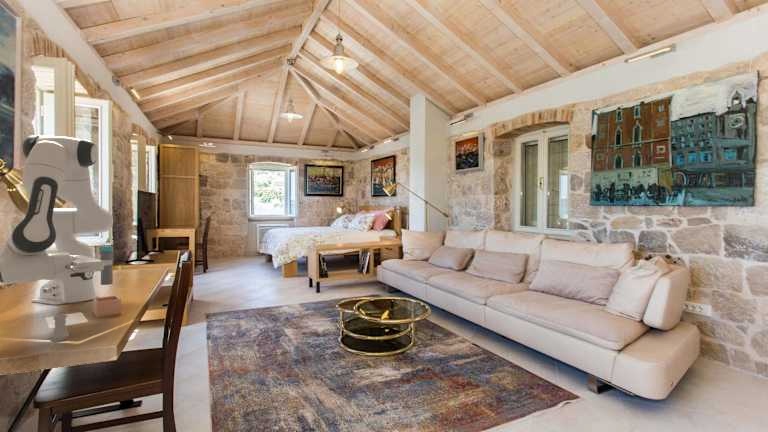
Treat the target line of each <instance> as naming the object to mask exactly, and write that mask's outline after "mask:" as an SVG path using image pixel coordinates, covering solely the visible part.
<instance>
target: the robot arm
mask: <svg viewBox="0 0 768 432" xmlns="http://www.w3.org/2000/svg"><path fill="white" fill-rule="evenodd" d="M22 153H23V156H24V157H25V158H26V160H25V163H24V166H23V170H22V175H21V176H22V180H21V181H22V183H21V184H22V187H23V188H24V189H25V190H26V191H27V192H28V193H29V199H28V203H27V207H26V211H25V216H24V218H23V220H21V222H19V223H18V224H17V225H16V227H15V228H14V229H13V231H12V232H11V234H9V236H8V237H7V239H6V241H5V244H4V247H3V249H2V250H1V252H0V283H3V284H24V283H26V284H27V283H34V282H35V283H36V282H38V281H43V280H45V281H47V282H45V283H44V284H43V285H42V286H41V287H40V289H39V296H37V297H35V298H32V299H31V303H39V304H46V305H55V306H57V305H65V304H73V303H77V302H78V303H79V302H85V301H90V300H93V299H94V298H99V297H98V294H97V290H96V286H95V279H94V273H95V272H101V271H102V270H103V269H104V266H106V265H112V264H114V259H113V260H101V258H94V257H93V254H94V253H93V248H92V247H91V245H90V244H88V243H85V242H84V241H80V240H78V239H77V238H76V237H75V235H87V234H88V235H91V234H92V235H93V234H96V235H97V234H100V233H106V232H109V231H110V230H111V229H112V227H113V225H114V217H113V215H112V213H111V212H110V211H109V210H107V209H106V208H104V207H102V206H101V205H100V204H99V203H98V202H97V201H96V200H95V198H94V196H93V194H92V193H93V192H92V186H91V174H90V168H89V167H91V166H93V165H95V164H96V162H97V160H98V158H99V152H98V148H97V145H96V144H95V143H94V142H93V141H90V140H87V139H84V138H82V139H80V138H74V137H69V136H57V135H56V136H55V135H54V136H53V135H41V134H35V135H29V136H28V137H26V138H25V139H24V140H23V143H22ZM57 197H59V198H60V199H61V200H62V201H65V202H67V203H70V204H72V206H73V208H72V207H71V208H70V207H69V208H68V207H65V208H64V207H63V208H62V207H60V208H59V207H56V208H55V205H56V199H57ZM54 244H55V246H56V248H57V251H58V252H56V253H55V252H54V253H53V252H52V253H47V249H49V248H51V247H52V246H53V245H54Z"/></svg>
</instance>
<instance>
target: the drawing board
mask: <svg viewBox="0 0 768 432" xmlns="http://www.w3.org/2000/svg"><path fill="white" fill-rule="evenodd" d="M66 315H67V317H66V319H65V320H66V322H65V325H66V327H68V326H71V325H73V326H74V325H79V324H84V323H85V324H87V323H89V320H88V319H87V318H86V317H85V315H84V314H83V313H82V311H80V312H72V313H67V314H66ZM54 316H55V315H54ZM54 316H47V317H45V321H46V323H47V325H48V328H49V329H55V324H54V322H55V320H54V319H53V317H54Z"/></svg>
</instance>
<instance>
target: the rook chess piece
mask: <svg viewBox="0 0 768 432" xmlns="http://www.w3.org/2000/svg"><path fill="white" fill-rule="evenodd" d="M66 317H67V315H66V312H61V313H55V314H54V317H53V319H54V320H55V322H54V324H55V328H53V329H54V330H53V333H52V334H51V336H50V338H51V339H50V342H51V343H54V344H55V343H62V342H66V341H67V340H65V339H68V338H69V337H70V332H69V331H68V329H67V326H66V325H65V322H66V320H65V319H66Z"/></svg>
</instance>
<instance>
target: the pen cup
mask: <svg viewBox="0 0 768 432" xmlns="http://www.w3.org/2000/svg"><path fill="white" fill-rule="evenodd" d="M121 311H122V299H121V297H119V296H118V295H111V296H110V295H109V296H103V297H97V298H94V299H92V314H93V315H94V316H95V317H96V318H99V317H106V316H112V315H117V314H118V315H119V314H121V313H122V312H121Z"/></svg>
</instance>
